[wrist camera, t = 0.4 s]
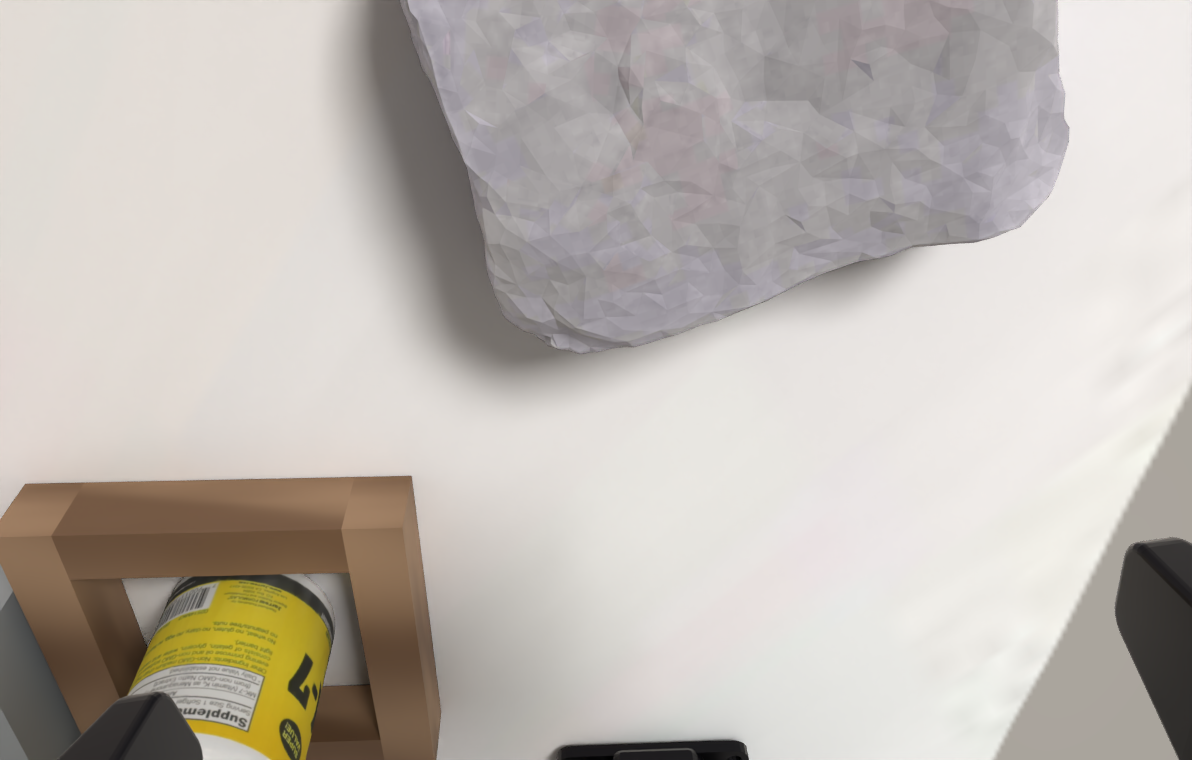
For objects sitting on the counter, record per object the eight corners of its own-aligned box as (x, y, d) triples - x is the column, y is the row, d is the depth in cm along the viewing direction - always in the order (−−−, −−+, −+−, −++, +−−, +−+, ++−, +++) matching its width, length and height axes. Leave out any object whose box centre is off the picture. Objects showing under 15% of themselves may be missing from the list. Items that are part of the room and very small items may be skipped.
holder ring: (441, 712, 30) (435, 767, 29) (127, 723, 30) (103, 779, 28) (411, 476, 25) (402, 527, 23) (25, 484, 24) (-13, 537, 23)
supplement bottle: (331, 672, 29) (266, 961, 22) (172, 654, 28) (53, 949, 21) (345, 563, 27) (275, 852, 20) (171, 540, 26) (34, 833, 19)
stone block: (360, -114, 19) (530, 329, 23) (294, -147, 14) (519, 412, 18) (941, -337, 18) (1020, 170, 21) (1064, -448, 13) (1138, 216, 17)
